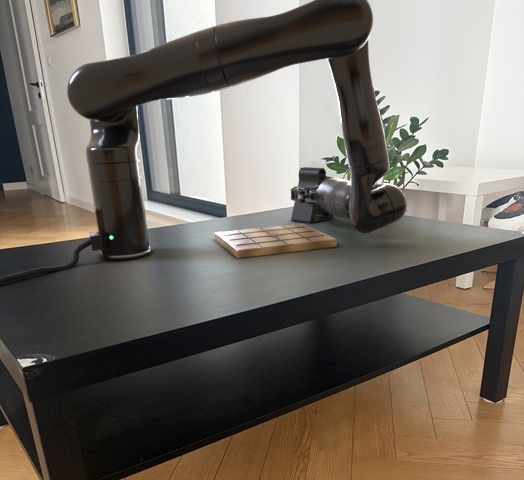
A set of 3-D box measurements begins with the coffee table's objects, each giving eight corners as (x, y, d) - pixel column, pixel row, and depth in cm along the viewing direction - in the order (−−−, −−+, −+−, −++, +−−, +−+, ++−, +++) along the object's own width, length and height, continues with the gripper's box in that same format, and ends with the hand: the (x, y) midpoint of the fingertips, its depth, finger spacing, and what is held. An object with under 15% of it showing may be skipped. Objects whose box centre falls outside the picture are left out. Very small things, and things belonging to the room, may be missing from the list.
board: (237, 258, 101) (236, 249, 101) (215, 239, 117) (214, 231, 116) (336, 246, 106) (336, 238, 106) (302, 230, 122) (302, 222, 122)
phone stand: (309, 223, 129) (309, 170, 124) (290, 221, 133) (289, 169, 128) (333, 217, 135) (334, 166, 130) (314, 215, 139) (314, 165, 134)
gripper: (370, 177, 118) (338, 170, 132) (309, 182, 114) (283, 175, 128) (369, 212, 121) (338, 202, 135) (309, 218, 117) (283, 207, 131)
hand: (311, 189), depth 132 cm, fingers open, 8 cm apart
